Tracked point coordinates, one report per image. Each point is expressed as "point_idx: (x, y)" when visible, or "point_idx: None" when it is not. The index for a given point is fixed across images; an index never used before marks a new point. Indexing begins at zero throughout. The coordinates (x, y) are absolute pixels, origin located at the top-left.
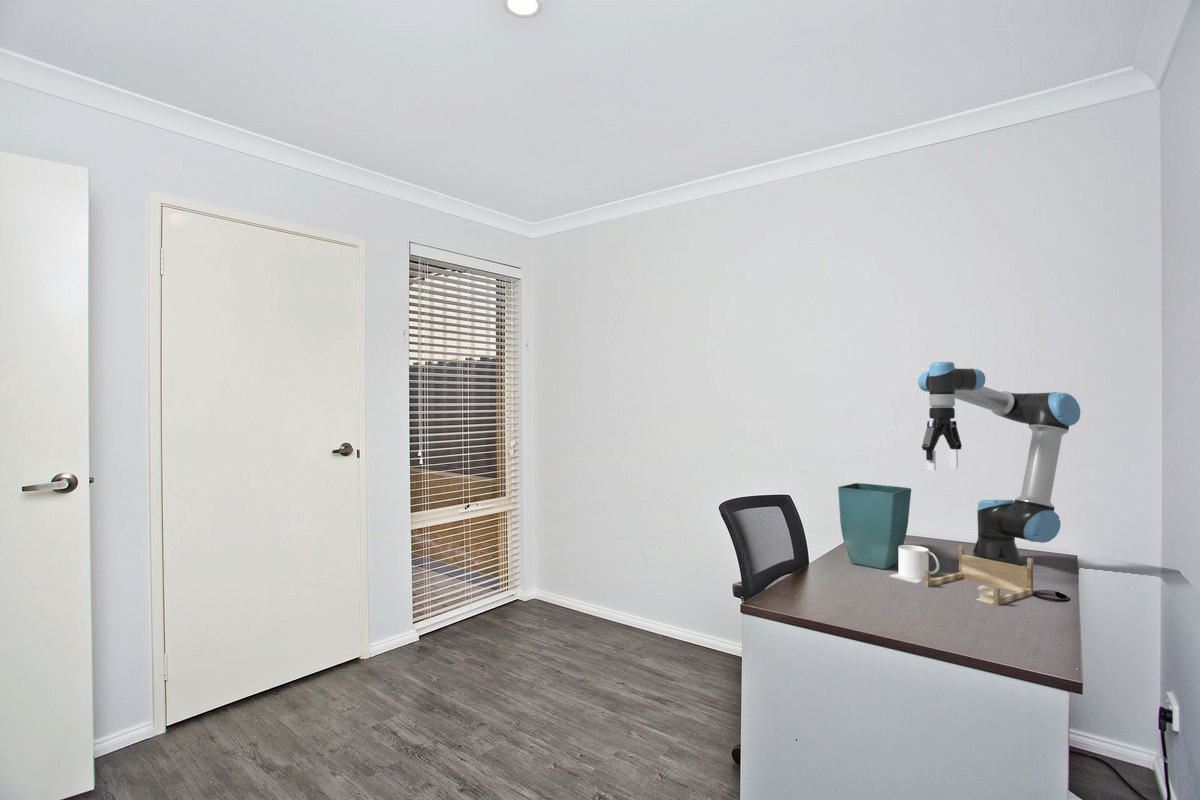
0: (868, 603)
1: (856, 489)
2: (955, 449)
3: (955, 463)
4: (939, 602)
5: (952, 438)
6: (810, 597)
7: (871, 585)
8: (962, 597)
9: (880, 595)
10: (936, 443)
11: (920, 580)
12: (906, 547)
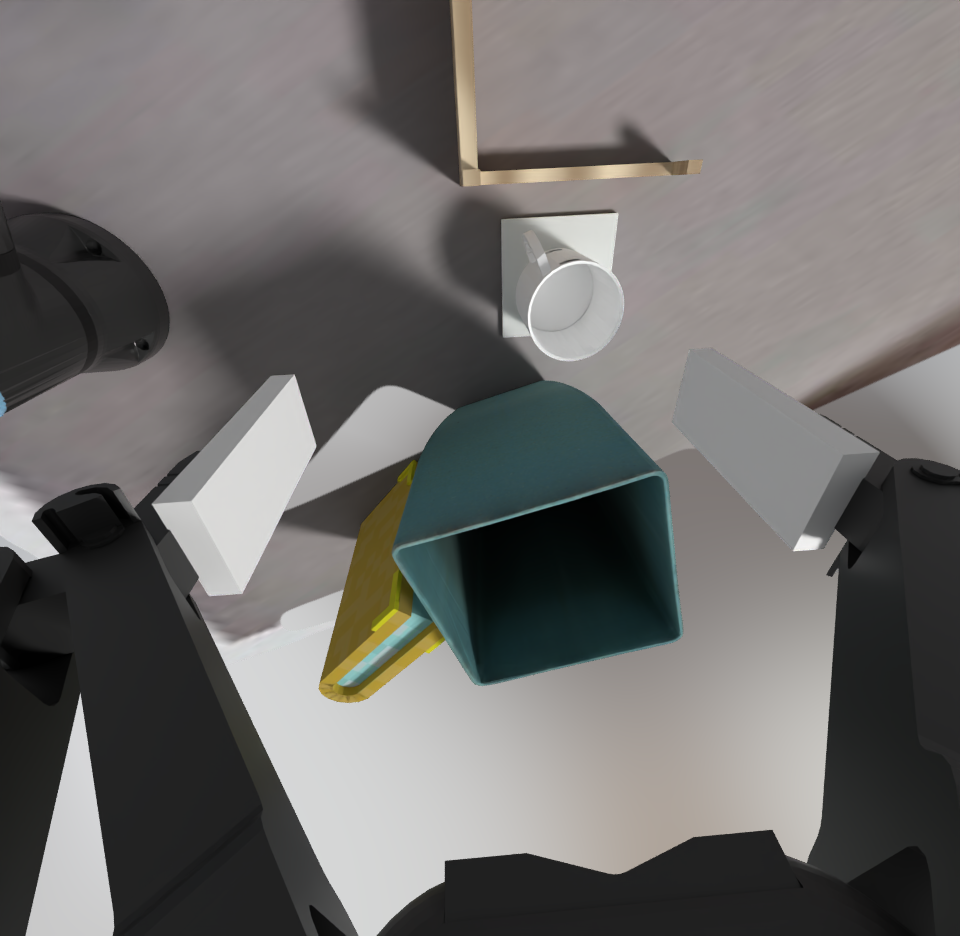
0: (923, 175)
1: (678, 591)
2: (170, 531)
3: (278, 408)
4: (774, 50)
5: (216, 704)
6: (949, 295)
7: (729, 295)
8: (655, 41)
9: (816, 213)
10: (911, 550)
11: (589, 246)
12: (549, 351)
